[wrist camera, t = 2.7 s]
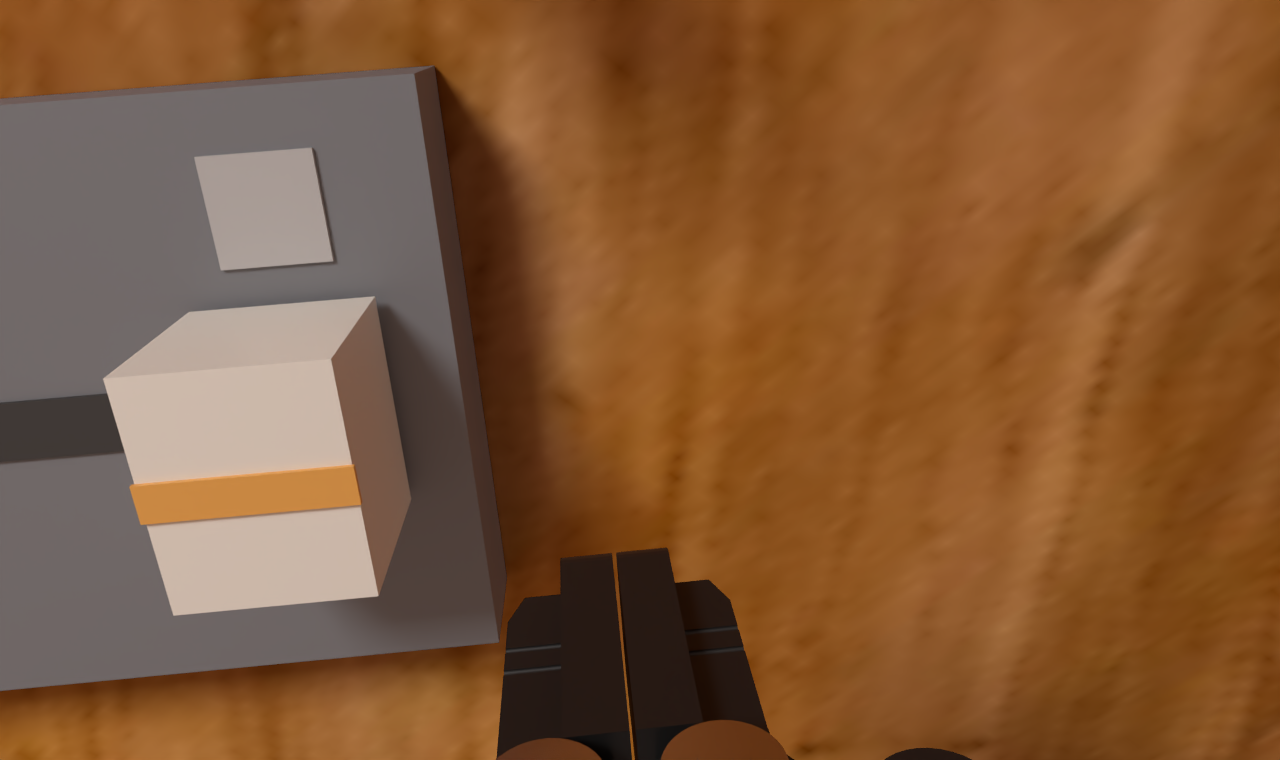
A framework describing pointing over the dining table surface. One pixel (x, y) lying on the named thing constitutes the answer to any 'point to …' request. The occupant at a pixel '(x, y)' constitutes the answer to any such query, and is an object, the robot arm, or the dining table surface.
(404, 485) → the fader knob
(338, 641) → the fader console
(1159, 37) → the dining table surface
